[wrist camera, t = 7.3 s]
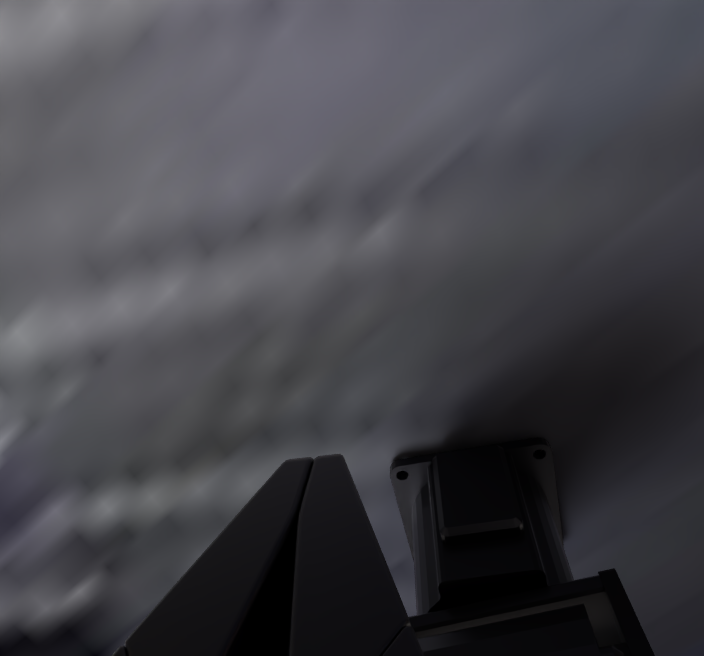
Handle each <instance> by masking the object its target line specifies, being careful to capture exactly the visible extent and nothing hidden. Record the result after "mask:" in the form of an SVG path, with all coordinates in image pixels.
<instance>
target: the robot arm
mask: <svg viewBox="0 0 704 656" xmlns="http://www.w3.org/2000/svg"><path fill="white" fill-rule="evenodd" d="M538 449H542V451H541V452H539V453H534V452H535V451H536V450H538ZM399 471H406V473H404V474H401V473H398V472H399ZM390 478H391V482H392V485H393V489H394V492H395V496H396V499H397V503H398V507H399V510H400V514H401V517H402V521H403V525H404V528H405V532H406V535H407V539H408V542H409V546H410V550H411V553H412V557H413V560H414V570H415V589H416V608H417V615H416V616H411V617H408V615H407V613H406V610H405V608H404V605H403V603H402V600H401V598H400V595H399V593H398V590H397V588H396V585H395V583H394V581H393V578H392V576H391V573H390V571H389V568H388V566H387V563H386V561H385V558H384V556H383V553H382V551H381V548H380V546H379V543H378V541H377V538H376V536H375V533H374V531H373V529H372V526H371V524H370V521H369V519H368V516H367V514H366V511H365V509H364V506H363V504H362V501H361V499H360V496H359V494H358V491H357V489H356V486H355V484H354V481H353V479H352V477H351V474H350V472H349V469H348V467H347V464H346V462H345V459H344V457H343V456H342V455H341V454H334V455H325V456H318V457H316V458H315V459H313V458H311V457H306V458H297V459H289V460H286V461H285V462H284V463H282V465H281V466H280V467H279V468H278V469H277V470H276V471H275V472H274V474H273V475H272V476H271V477H270V478H269V479H268V480H267V481H266V483H265V484H264V485H263V486H262V487H261V488H260V489H259V491H258V492H257V493H256V494H255V495H254V496H253V497H252V498H251V500H250V501H249V502H248V503H247V504H246V505H245V506H244V507H243V509H242V510H241V511H240V512H239V513H238V514H237V515H236V516H235V518H234V519H233V520H232V521H231V522H230V523H229V524H228V525H227V527H226V528H225V529H224V530H223V531H222V532H221V533H220V534H219V536H218V537H217V538H216V539H215V540H214V541H213V542H212V544H211V545H210V546H209V547H208V548H207V549H206V550H205V551H204V553H203V554H202V555H201V556H200V557H199V558H198V559H197V560H196V562H195V563H194V564H193V565H192V566H191V567H190V568H189V569H188V571H187V572H186V573H185V574H184V575H183V576H182V577H181V578H180V580H179V581H178V582H177V583H176V584H175V585H174V586H173V588H172V589H171V590H170V591H169V592H168V593H167V594H166V595H165V597H164V598H163V599H162V600H161V601H160V602H159V603H158V604H157V606H156V607H155V608H154V609H153V610H152V611H151V612H150V613H149V615H148V616H147V617H146V618H145V619H144V620H143V621H142V622H141V624H140V625H139V626H138V627H137V628H136V629H135V630H134V631H133V633H132V634H131V635H130V636H129V637H128V638H127V639H126V641H125V646H120V647H119V648H118V649H117V650H116V651H115V653H114V654H113V655H112V656H655V655H654V653H653V651H652V649H651V647H650V644H649V642H648V640H647V638H646V636H645V633H644V631H643V629H642V627H641V625H640V623H639V620H638V618H637V616H636V614H635V612H634V609H633V607H632V605H631V603H630V601H629V599H628V596H627V594H626V592H625V590H624V588H623V585H622V583H621V581H620V579H619V577H618V574H617V572H616V570H615V568H614V569H609V570H605V571H600V572H598V574H599V575H597V576H592V577H588V578H583V579H579V580H574V579H573V576H572V573H571V569H570V566H569V563H568V560H567V557H566V554H565V551H564V547H563V538H562V530H561V521H560V513H559V504H558V496H557V487H556V478H555V470H554V461H553V453H552V450H551V447H550V445H549V442H548V441H547V440H545V439H542V438H533V439H527V440H521V441H514V442H508V443H502V444H495V445H489V446H483V447H476V448H470V449H464V450H457V451H451V452H445V453H438V454H432V455H426V456H419V457H413V458H407V459H400V460H397V461H395V462H393V463H392V464H391V466H390Z"/></svg>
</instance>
